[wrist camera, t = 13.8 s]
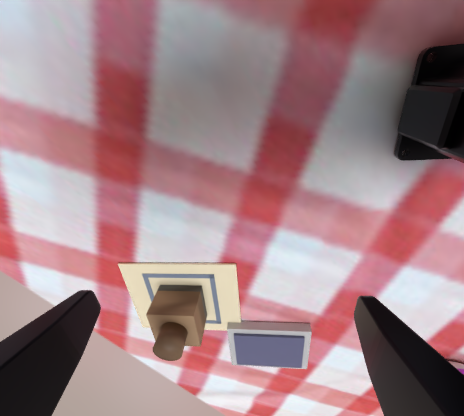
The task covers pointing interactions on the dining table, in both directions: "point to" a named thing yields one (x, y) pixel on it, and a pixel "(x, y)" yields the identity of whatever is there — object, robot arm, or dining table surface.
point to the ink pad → (269, 344)
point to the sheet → (205, 274)
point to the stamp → (177, 319)
